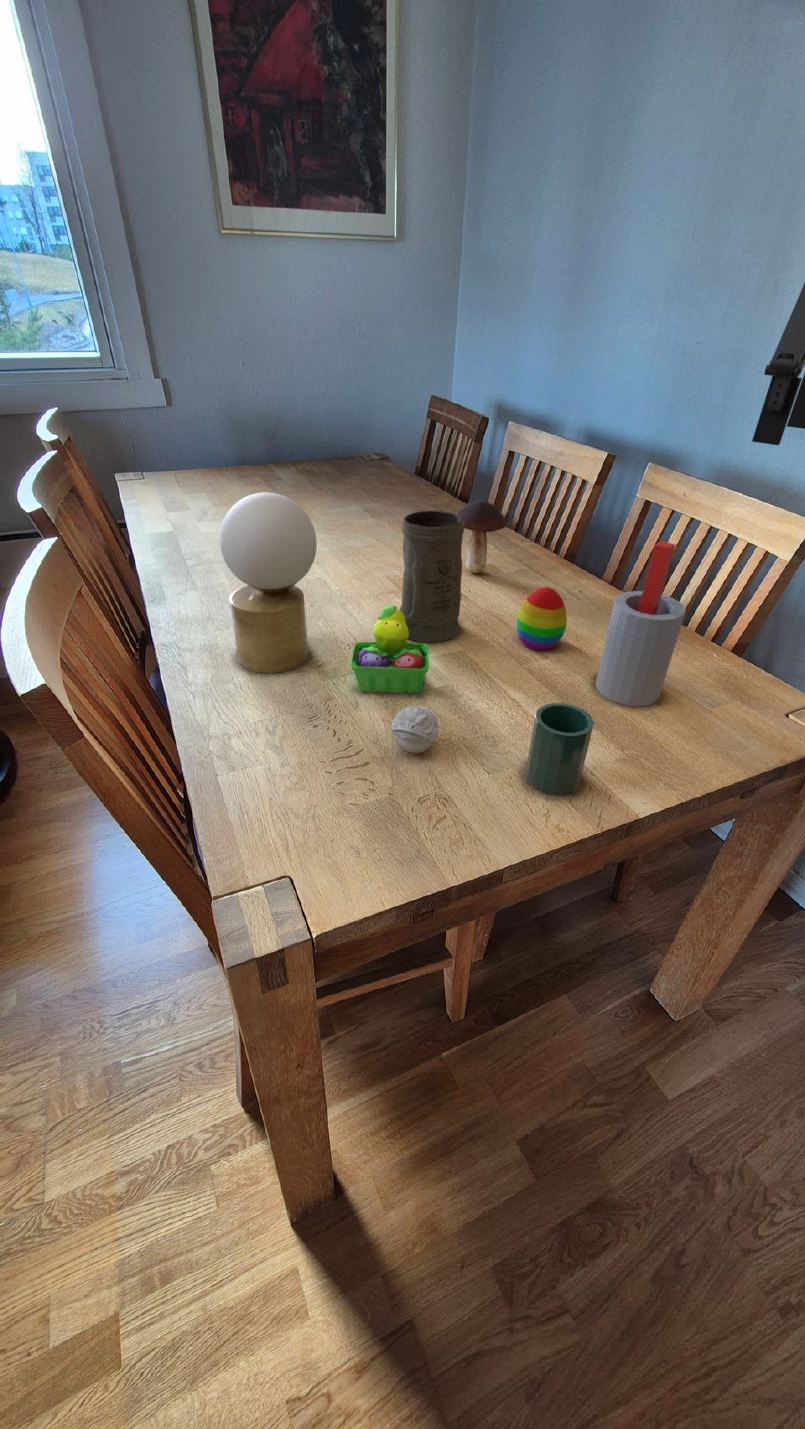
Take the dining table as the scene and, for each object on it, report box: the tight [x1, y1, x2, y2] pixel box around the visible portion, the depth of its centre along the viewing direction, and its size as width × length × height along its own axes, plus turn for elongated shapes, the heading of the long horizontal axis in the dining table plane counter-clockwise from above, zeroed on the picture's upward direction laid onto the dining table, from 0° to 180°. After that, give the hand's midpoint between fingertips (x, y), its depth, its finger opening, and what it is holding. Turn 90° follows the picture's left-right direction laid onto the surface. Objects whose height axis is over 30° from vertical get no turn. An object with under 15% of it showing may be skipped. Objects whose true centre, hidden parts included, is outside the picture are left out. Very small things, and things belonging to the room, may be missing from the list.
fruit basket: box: [350, 605, 430, 694], centre depth 93 cm, size 11×9×11 cm
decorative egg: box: [516, 586, 568, 651], centre depth 104 cm, size 8×8×10 cm
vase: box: [595, 590, 687, 707], centre depth 91 cm, size 9×9×14 cm
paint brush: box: [638, 540, 676, 615], centre depth 89 cm, size 3×3×22 cm
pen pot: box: [525, 702, 595, 796], centre depth 75 cm, size 7×7×9 cm
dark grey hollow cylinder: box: [399, 510, 465, 643], centre depth 107 cm, size 15×11×20 cm
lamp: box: [219, 492, 318, 674], centre depth 96 cm, size 15×14×25 cm
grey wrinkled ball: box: [390, 705, 439, 754], centre depth 80 cm, size 6×7×7 cm
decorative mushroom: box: [455, 499, 507, 574], centre depth 128 cm, size 11×11×15 cm
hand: (783, 435), depth 74 cm, fingers open, 13 cm apart
